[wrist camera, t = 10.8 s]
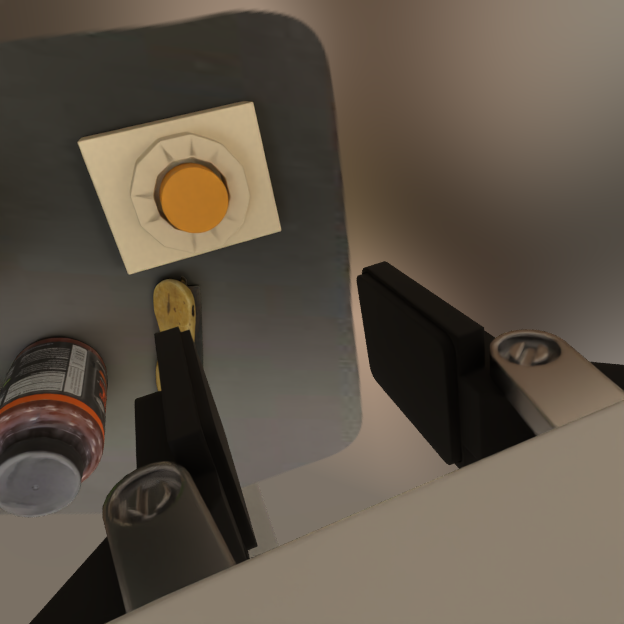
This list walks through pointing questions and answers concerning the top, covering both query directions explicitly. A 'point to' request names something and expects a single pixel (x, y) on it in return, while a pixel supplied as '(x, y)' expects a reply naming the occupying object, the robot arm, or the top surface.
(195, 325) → the tan elongated lumpy piece
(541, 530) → the robot arm
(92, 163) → the button box
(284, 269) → the top surface
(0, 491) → the supplement bottle
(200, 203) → the button
